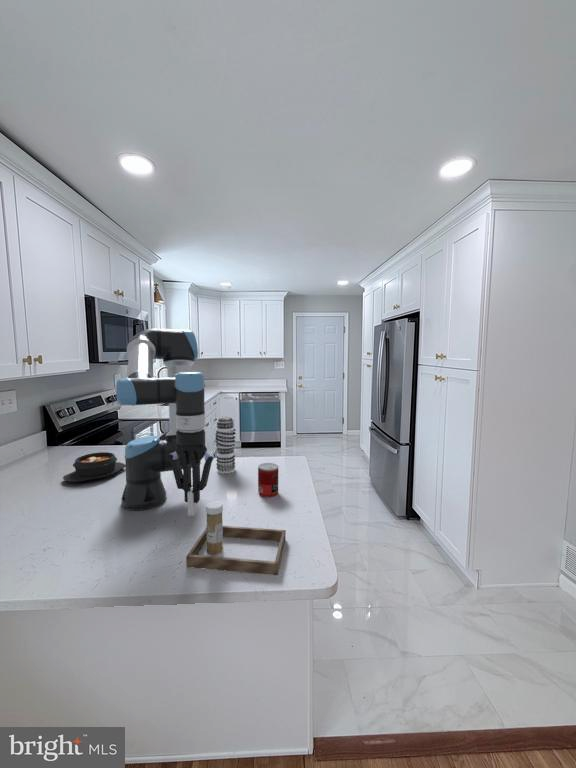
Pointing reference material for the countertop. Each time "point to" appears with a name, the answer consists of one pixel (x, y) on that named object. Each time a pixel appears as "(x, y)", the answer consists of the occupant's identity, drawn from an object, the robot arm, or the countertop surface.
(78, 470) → the casserole
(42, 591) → the countertop surface
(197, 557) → the frame
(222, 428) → the decorative candle
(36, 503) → the countertop surface
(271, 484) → the canned food
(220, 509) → the sprinkles bottle
